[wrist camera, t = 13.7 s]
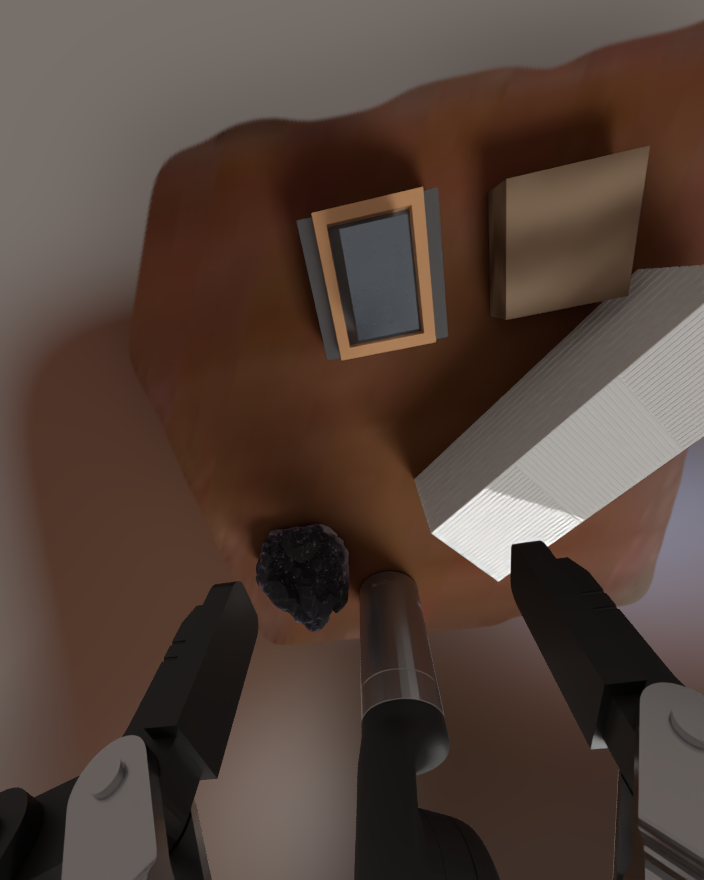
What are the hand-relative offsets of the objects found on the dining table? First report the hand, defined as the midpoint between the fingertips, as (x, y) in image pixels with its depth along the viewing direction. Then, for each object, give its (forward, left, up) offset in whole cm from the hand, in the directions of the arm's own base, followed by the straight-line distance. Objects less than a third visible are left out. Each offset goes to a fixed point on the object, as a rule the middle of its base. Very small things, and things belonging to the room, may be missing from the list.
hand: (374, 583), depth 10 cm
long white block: (-10, -20, -31) cm, 38 cm away
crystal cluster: (-26, +13, -30) cm, 42 cm away
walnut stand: (+8, -20, -30) cm, 37 cm away
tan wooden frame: (+8, -3, -30) cm, 31 cm away
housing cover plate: (+8, -3, -23) cm, 25 cm away
